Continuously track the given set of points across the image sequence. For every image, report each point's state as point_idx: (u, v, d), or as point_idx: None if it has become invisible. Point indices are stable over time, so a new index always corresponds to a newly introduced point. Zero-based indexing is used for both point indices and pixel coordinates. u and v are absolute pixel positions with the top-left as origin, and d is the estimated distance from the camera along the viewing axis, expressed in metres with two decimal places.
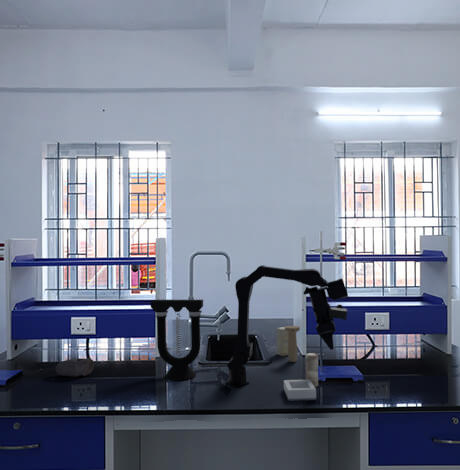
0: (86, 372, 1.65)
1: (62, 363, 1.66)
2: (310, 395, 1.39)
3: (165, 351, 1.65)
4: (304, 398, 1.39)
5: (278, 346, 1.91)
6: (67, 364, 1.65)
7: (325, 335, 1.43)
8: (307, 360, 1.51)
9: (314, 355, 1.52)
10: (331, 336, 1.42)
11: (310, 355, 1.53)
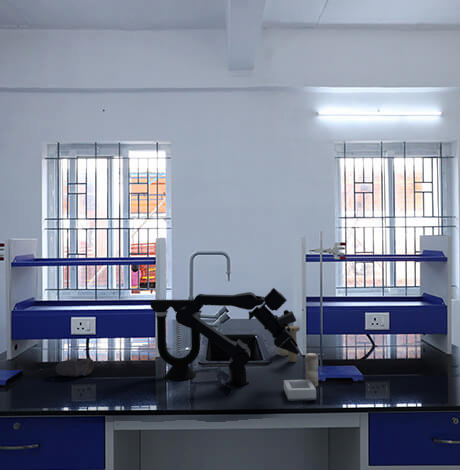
0: (86, 372, 1.65)
1: (62, 363, 1.66)
2: (310, 395, 1.39)
3: (165, 351, 1.65)
4: (304, 398, 1.39)
5: None
6: (67, 364, 1.65)
7: (285, 345, 1.48)
8: (307, 360, 1.51)
9: (314, 355, 1.52)
10: (291, 343, 1.47)
11: (310, 355, 1.53)
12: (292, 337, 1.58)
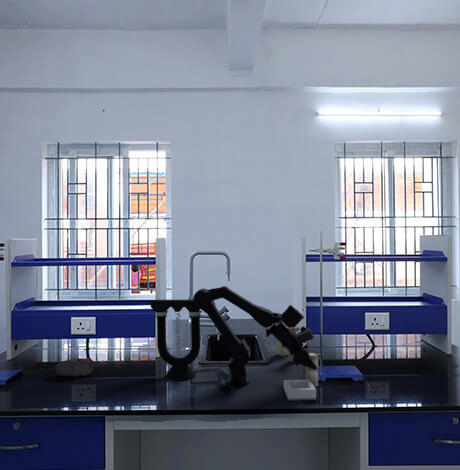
0: (86, 372, 1.65)
1: (62, 363, 1.66)
2: (310, 395, 1.39)
3: (165, 351, 1.65)
4: (304, 398, 1.39)
5: (278, 346, 1.91)
6: (67, 364, 1.65)
7: (303, 360, 1.49)
8: None
9: (314, 355, 1.52)
10: (309, 359, 1.49)
11: (310, 355, 1.53)
12: None
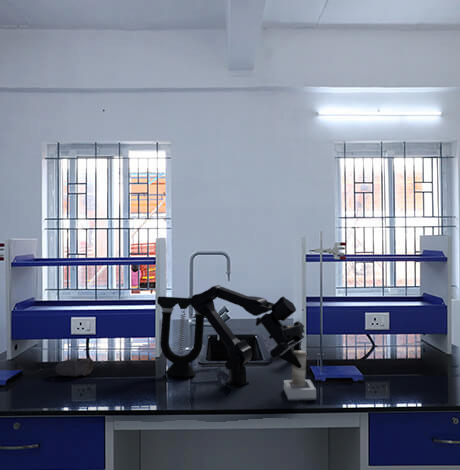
0: (86, 372, 1.65)
1: (62, 363, 1.66)
2: (310, 395, 1.39)
3: (167, 347, 1.66)
4: (304, 398, 1.39)
5: None
6: (66, 364, 1.65)
7: (287, 356, 1.42)
8: None
9: (302, 353, 1.42)
10: (292, 355, 1.41)
11: (299, 352, 1.43)
12: None
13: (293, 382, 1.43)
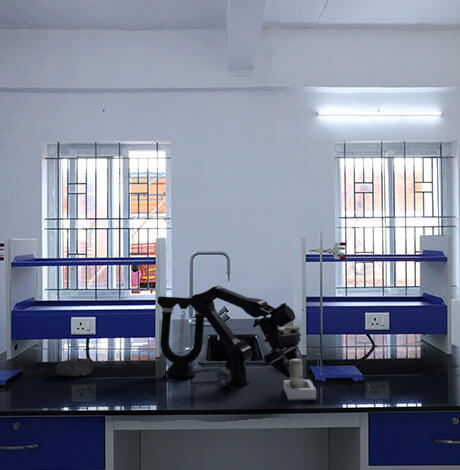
0: (86, 372, 1.65)
1: (62, 363, 1.66)
2: (310, 395, 1.39)
3: (167, 347, 1.66)
4: (304, 398, 1.39)
5: None
6: (66, 364, 1.65)
7: (277, 364, 1.41)
8: (290, 366, 1.43)
9: (297, 361, 1.43)
10: (282, 364, 1.40)
11: (294, 360, 1.44)
12: (296, 358, 1.49)
13: None
